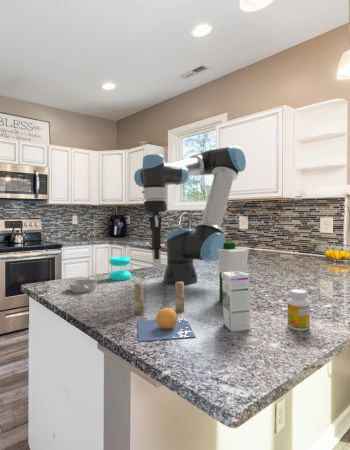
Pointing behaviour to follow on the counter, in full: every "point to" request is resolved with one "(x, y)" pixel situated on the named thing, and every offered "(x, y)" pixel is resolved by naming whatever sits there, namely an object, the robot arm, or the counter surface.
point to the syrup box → (236, 300)
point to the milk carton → (231, 261)
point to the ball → (166, 318)
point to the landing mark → (161, 330)
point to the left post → (139, 299)
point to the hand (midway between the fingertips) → (156, 267)
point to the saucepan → (83, 285)
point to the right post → (179, 296)
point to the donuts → (120, 273)
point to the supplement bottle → (298, 310)
